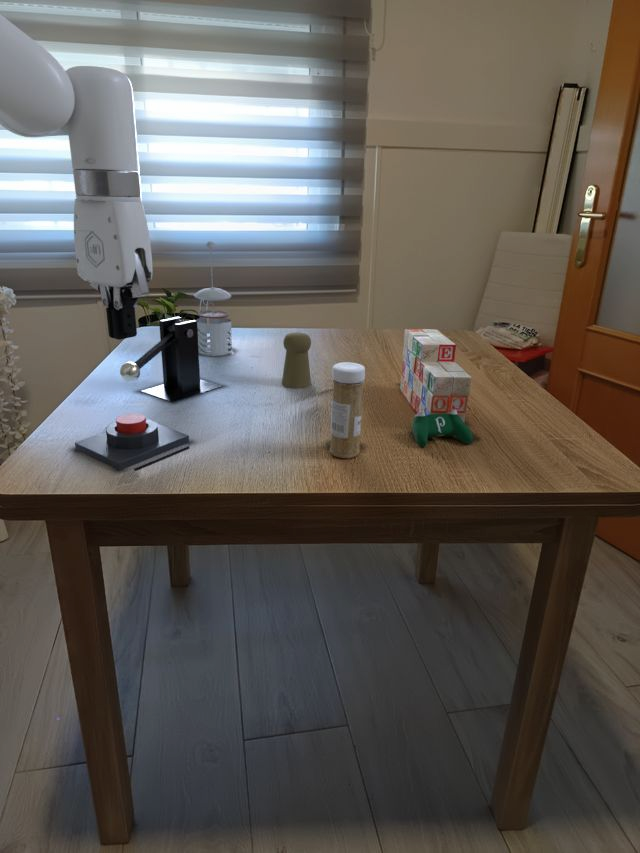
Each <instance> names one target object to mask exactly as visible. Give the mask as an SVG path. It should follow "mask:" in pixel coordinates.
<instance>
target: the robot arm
mask: <svg viewBox="0 0 640 853" xmlns="http://www.w3.org/2000/svg"><path fill="white" fill-rule="evenodd" d="M0 125H1V126H2V127H3V128H4V129H5V130H6V131H9V132H11V133H13V134H15V135H17V136H20V137H24V138H44V137H45V138H46V137H58V136H59V137H60V136H67V137H68V141H69V142H68V143H69V150H70V157H71V168H72V175H73V183H74V190H75V198H74V205H73V206H74V207H73V239H74V252H75V264H76V271H77V275H78V276H79V277H80V279H82V280H83V281H85V282H88V283H89V285H90V287H91V288H93V289H95V290H96V291H98V292H99V294H100V297H101V302H102V305H103V306H104V308H105V313H106V321H107V331H108V337H109V338H110V339H115V340H118V341H119V340H120V341H121V340H125V339H130V338H134V337H137V334H138V330H137V319H136V318H137V317H136V308H135V307H138V300H139V298H141V297H146V296H149V294H150V289H149V285H148V284H149V283H151V281H152V280H153V271H154V270H153V255H152V247H151V238H150V231H149V226H148V220H147V217H146V211H145V208H144V203H143V201H142V200H143V199H142V188H141V186H142V185H141V176H140V175H141V174H140V160H139V151H138V137H137V126H136V115H135V100H134V89H133V86H132V82H131V79H129V77H128V76H127V75H126V74H125V73H124V72H121V71H120V70H118V69H115V68H114V69H113V68H110V67H104V66H97V65H95V66H94V65H76V66H72V67H69V68H67V69H66V70H65V68H64V67H63V66H62V65H61V63H60V62H59V61H58V59H56V58H55V56H53V55H52V54H51V53H50V52H49V51H48V50H47V49H45V48H44V47H43V46H42V45H41V44H39V43H38V42H37V41H36V40H34V38H32V37H30V36H29V35H28V34H26V33H25V32H24V31H22V30H21V29H20V28H19V27H18V26H16V25H15V24H14V23H12V22H11V21H10V20H9V19H7V18H6V17H5V16H3V15H2V14H1V13H0Z"/></svg>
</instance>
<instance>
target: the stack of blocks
mask: <svg viewBox="0 0 640 853" xmlns="http://www.w3.org/2000/svg"><path fill="white" fill-rule="evenodd" d="M456 348H457V344H456V343H454V342H453V341H452V340H450V338H448V337H446V335H444V334H443V333H441V331H439V330H438V329H433V328H432V329H430V328H429V329H428V328H420V329H419V328H417V329H416V328H415V329H413V328H410V329H409V328H408V329H407V328H406V329H404V339H403V349H402V350H403V351H402V367H401V375H400V391H401V393H402V394H403V396H404V398H405V399H406V400H407V402H408V404H409V405H410V406H411V407H412V409H413V410H414V411H415V412H416V415H417V414H418V413H419V412H421V411H424V412H425V415H430V414H448V413H449V412H451V411H452V410H457V414H458V415H459V416H460V418H461V419H462V421H463V422H464V423H466V413H467V409H468V403H469V402H468V401H469V395H470V392H471V387H472V376H471V375H470V374H468V373H467V372H466V370H465V369H464V368H462V367H461V366H460V365H459V364H458V363H456V361H455V358H456V350H457V349H456Z"/></svg>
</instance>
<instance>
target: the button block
mask: <svg viewBox="0 0 640 853" xmlns="http://www.w3.org/2000/svg"><path fill="white" fill-rule="evenodd" d="M146 426H147V429H146V430H145V431H142V432H139V433H133V434H124V433H119V432H117V424H116V421H114V422H111V423H110V424H109V425H107V426H106V427H105V432H102V433H99V434H96V435H93V436H90V437H87V438H83V439H82V440H79V441H76V442H74V448H75V451H77V452H79V453H81V454H83V455H85V456H87V457H89V458H92V459H93V460H96V461H98V462H100V463H102V464H105V465H106V466H109V467H111V468H113V469H115V470H117V471H118V472H119V471H123V470H125V469H127V468H130V467H132V466H135V465H138V464H140V463H142V462H145V461H147V460H149V459H152V458H154V457H157V456H159V455H162V454H164V453H167V452H170V451H172V450H174V449H177V448H179V447H181V446H184V445H186V444H189V443H190V436H189V435H188V434H186V433H183V432H181V431H178V430H176V429H173V428H170V427H168V426H165V425H163V424H160V423H158V422H156V421H154V420H151V419H149V418H146ZM187 450H190V445H187V446H186V447H182V448H181V449H178V450H176V451H174V452H171V453H168V454H166V455H164V456H161V457H159V458H157V459H154V460H151V461H149V462H147V463H144V464H142V465H139V466H137V467H134V468H133V470H134V472H137V471H140V470H142V469H145V468H147V467H149V466H151V465H154V464H156V463H159V462H161V461H163V460H166V459H168V458H171V457H173V456H175V455H178V454H180V453H183V452H185V451H187Z"/></svg>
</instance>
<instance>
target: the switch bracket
mask: <svg viewBox="0 0 640 853" xmlns="http://www.w3.org/2000/svg"><path fill="white" fill-rule="evenodd" d="M177 320H180V321H183V317H180V316H174V317H170V318H165V319H160V320H158V323H159V324H158V325H159V338H160V339H159V340H160V341H161V340H162V339H163V338H165V337H166V336H167V335H168V334H169V332H168V330H167V328H168V327H169V326H171V325H172V324H173V323H174V322H175V321H177ZM174 327H175V340H173V341H172V342H171V343H170V344H169V345H168V346H166V347H165V348H164V349H163V350H162V351H161V352H160V354H161V363H162V364H161V366H162V379H163V384H160V385H156V386H152V387H149V388H146V389H142V390H140V391H139V392H140V393H143V394H146V395H149V396H152V397H154V398H157V399H160V400H164V401H167V402H169V403H172V404H175V403H177V402H181V401H184V400H187V399H189V398H192V397H195V396H199V395H201V394H204V393H208V392H211V391H214V390H217V389H221V388H223V385H221V384H218V383H214V382H211V381H208V380H204V379H202V378H201V374H200V373H201V372H200V354H199V348H198V327H197V321H196V320H195V319H193V320H188V321H185V322H182V323H177V324H174Z"/></svg>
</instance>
